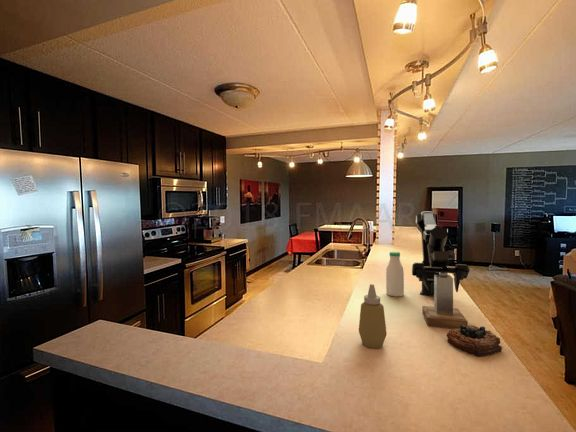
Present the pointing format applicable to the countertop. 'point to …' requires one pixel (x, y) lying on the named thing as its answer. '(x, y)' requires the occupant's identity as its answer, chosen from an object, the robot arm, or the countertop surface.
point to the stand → (443, 318)
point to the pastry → (474, 340)
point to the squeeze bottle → (372, 320)
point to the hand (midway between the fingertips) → (442, 290)
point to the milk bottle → (395, 276)
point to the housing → (443, 293)
